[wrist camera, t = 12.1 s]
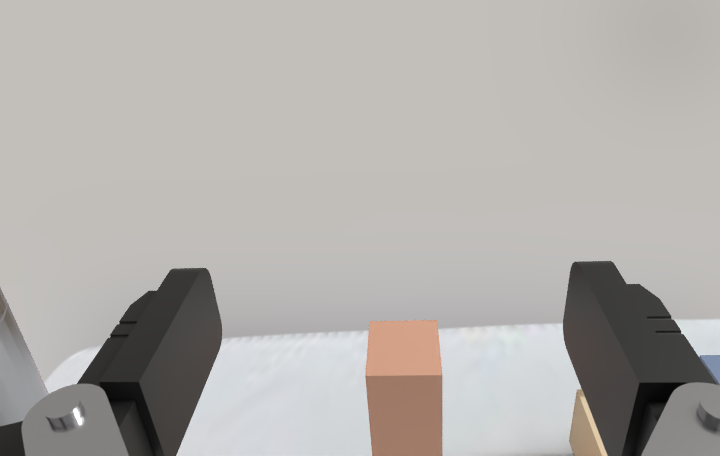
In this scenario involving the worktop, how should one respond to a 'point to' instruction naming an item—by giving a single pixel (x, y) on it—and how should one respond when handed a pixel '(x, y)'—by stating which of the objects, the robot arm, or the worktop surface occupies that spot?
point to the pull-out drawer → (428, 393)
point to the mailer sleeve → (712, 366)
